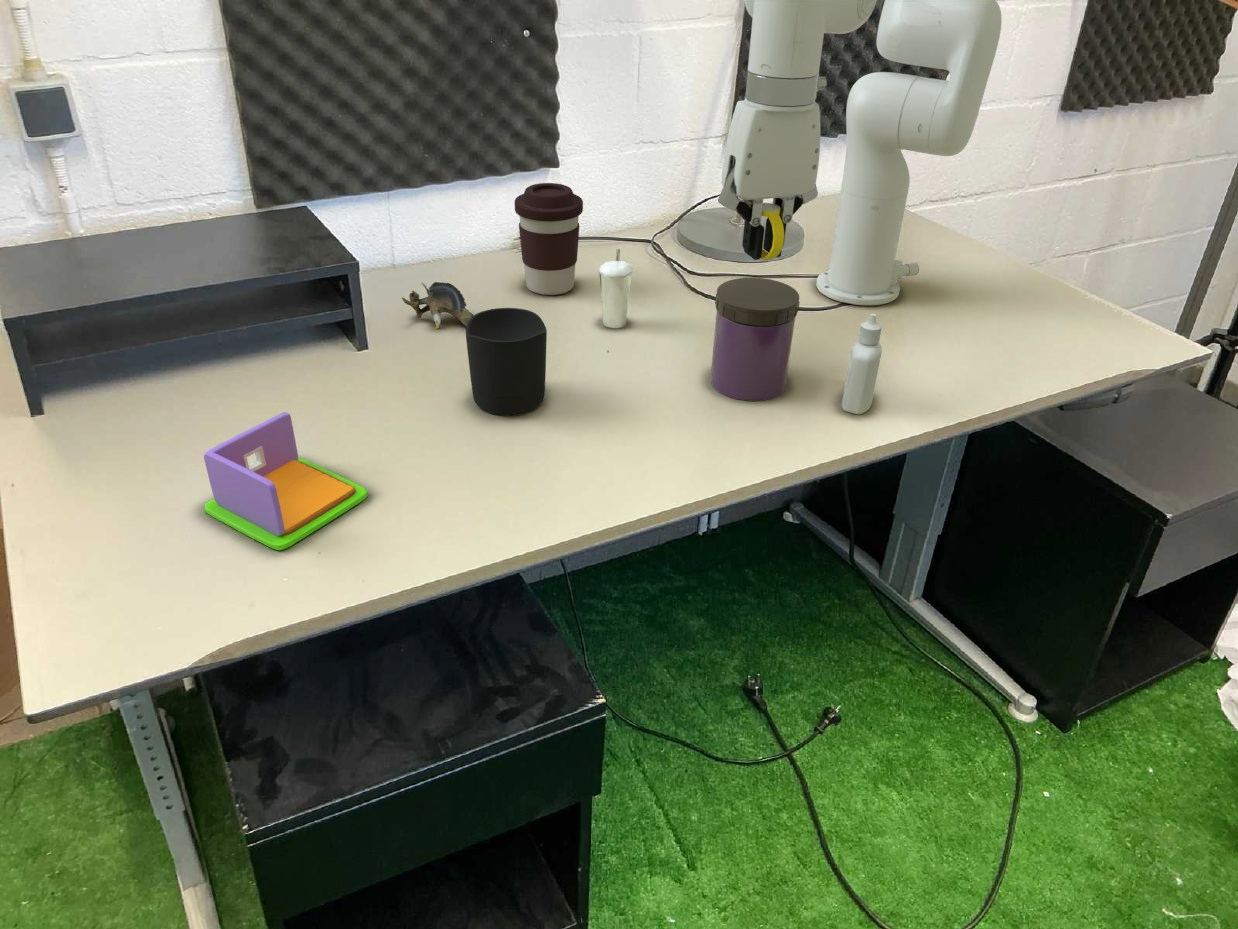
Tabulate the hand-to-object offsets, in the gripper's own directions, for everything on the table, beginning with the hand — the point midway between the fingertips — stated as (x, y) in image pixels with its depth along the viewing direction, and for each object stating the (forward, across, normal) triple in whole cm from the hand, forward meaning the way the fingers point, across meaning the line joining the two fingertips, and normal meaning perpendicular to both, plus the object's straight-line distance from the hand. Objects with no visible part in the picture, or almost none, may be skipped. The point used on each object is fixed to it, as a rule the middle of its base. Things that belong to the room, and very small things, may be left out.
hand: (762, 253), depth 113 cm
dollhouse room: (+18, +57, +9) cm, 60 cm away
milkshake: (+17, +10, -22) cm, 30 cm away
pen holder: (+18, +30, -5) cm, 35 cm away
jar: (+17, 0, 0) cm, 17 cm away
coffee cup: (+17, +15, -37) cm, 44 cm away
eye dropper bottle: (+17, -10, +9) cm, 22 cm away
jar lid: (+6, 0, 0) cm, 6 cm away
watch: (+1, 0, 0) cm, 1 cm away
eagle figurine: (+18, +33, -29) cm, 47 cm away
